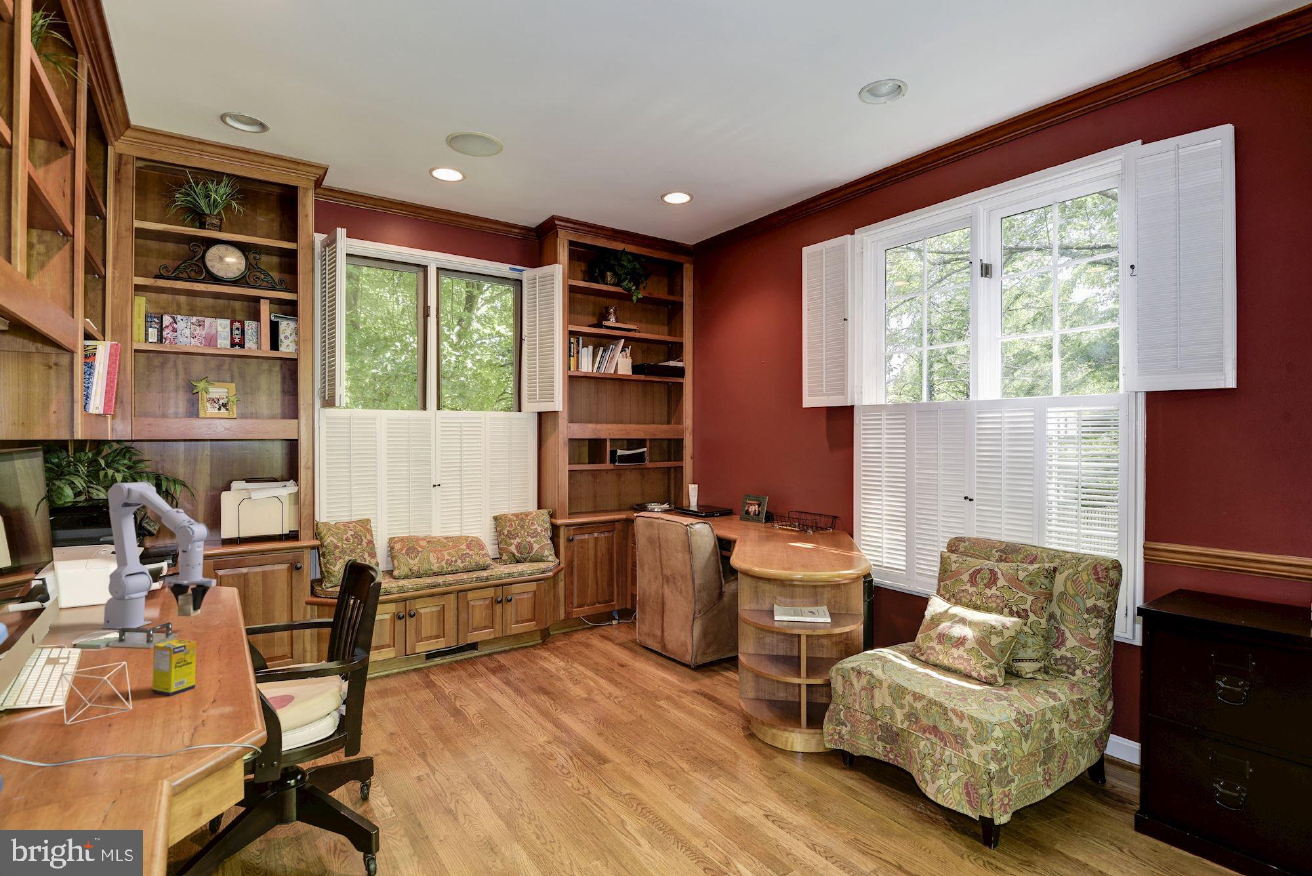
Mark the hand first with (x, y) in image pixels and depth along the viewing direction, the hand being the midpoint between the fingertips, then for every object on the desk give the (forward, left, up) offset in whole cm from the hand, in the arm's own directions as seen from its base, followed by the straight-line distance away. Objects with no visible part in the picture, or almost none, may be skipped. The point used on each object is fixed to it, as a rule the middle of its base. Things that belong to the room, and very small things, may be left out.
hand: (189, 609), depth 202 cm
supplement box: (+31, -46, -7) cm, 56 cm away
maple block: (0, 0, -2) cm, 2 cm away
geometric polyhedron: (+25, -60, -7) cm, 65 cm away
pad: (-14, -12, -7) cm, 20 cm away
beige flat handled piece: (-4, -11, -7) cm, 13 cm away
